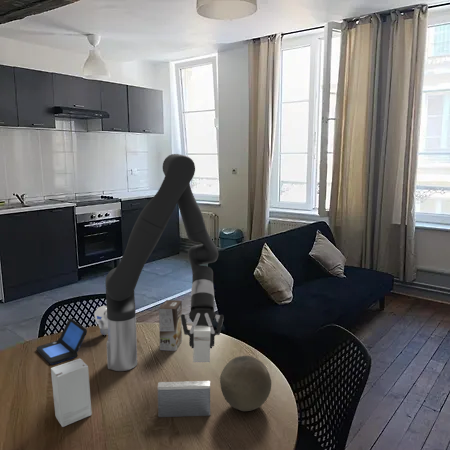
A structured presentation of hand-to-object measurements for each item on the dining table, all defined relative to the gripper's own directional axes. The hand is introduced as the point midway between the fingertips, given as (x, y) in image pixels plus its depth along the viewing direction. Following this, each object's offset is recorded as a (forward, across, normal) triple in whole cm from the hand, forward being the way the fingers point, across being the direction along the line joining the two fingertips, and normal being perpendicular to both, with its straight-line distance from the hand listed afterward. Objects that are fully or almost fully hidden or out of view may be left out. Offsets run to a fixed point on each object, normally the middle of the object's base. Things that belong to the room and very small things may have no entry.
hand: (201, 347), depth 124 cm
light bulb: (-17, -38, +36) cm, 55 cm away
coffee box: (-11, -11, +29) cm, 33 cm away
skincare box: (+19, -34, 0) cm, 40 cm away
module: (+2, 0, +5) cm, 5 cm away
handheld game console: (-8, -50, +28) cm, 58 cm away
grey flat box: (+19, -4, -1) cm, 19 cm away
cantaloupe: (+18, +12, -1) cm, 22 cm away
